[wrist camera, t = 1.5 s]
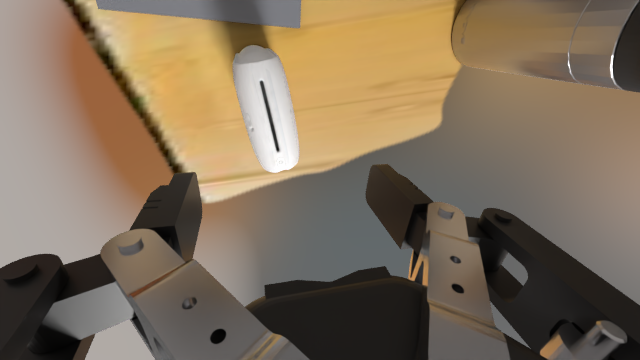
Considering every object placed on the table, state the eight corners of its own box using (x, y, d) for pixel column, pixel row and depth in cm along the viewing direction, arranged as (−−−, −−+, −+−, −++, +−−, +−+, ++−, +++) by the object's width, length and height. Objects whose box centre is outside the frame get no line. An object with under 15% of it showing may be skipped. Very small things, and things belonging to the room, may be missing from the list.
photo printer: (289, 130, 33) (309, 175, 23) (256, 137, 33) (261, 186, 22) (270, 41, 28) (286, 46, 17) (230, 48, 27) (222, 57, 17)
